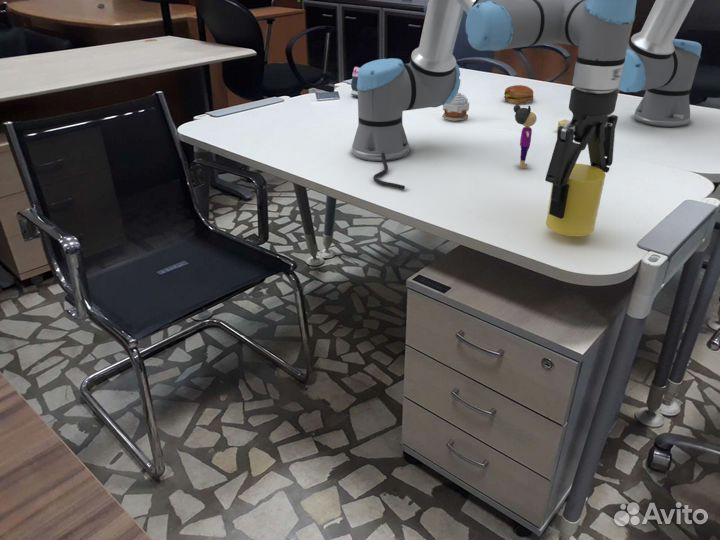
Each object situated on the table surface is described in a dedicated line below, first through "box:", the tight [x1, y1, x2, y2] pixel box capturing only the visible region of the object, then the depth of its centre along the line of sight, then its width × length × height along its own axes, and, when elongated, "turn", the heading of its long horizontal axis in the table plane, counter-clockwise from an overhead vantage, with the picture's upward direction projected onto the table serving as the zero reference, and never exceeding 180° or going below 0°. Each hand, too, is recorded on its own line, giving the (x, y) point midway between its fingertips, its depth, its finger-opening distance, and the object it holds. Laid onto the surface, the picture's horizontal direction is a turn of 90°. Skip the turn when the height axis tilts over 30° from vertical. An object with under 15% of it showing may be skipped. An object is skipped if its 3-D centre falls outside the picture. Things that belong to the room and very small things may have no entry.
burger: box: [503, 84, 534, 105], centre depth 195 cm, size 10×9×5 cm
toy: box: [512, 104, 537, 169], centre depth 139 cm, size 10×6×15 cm, turn 168°
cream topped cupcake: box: [442, 92, 470, 122], centre depth 176 cm, size 8×8×15 cm
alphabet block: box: [557, 119, 571, 132], centre depth 165 cm, size 3×3×3 cm
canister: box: [545, 163, 607, 237], centre depth 107 cm, size 9×9×11 cm
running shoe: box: [350, 66, 361, 98], centre depth 209 cm, size 9×26×11 cm, turn 138°
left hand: (572, 209), depth 108 cm, fingers closed on canister, 9 cm apart
